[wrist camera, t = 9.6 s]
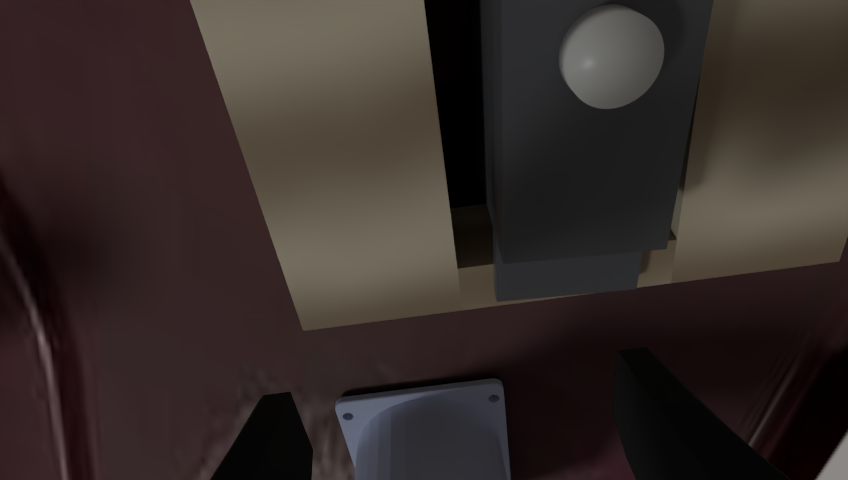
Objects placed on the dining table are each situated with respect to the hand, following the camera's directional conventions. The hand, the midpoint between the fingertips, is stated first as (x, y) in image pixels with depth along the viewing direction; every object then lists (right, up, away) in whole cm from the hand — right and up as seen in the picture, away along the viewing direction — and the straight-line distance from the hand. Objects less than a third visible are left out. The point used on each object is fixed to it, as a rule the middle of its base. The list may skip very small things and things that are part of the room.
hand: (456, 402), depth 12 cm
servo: (+3, +9, +6) cm, 12 cm away
